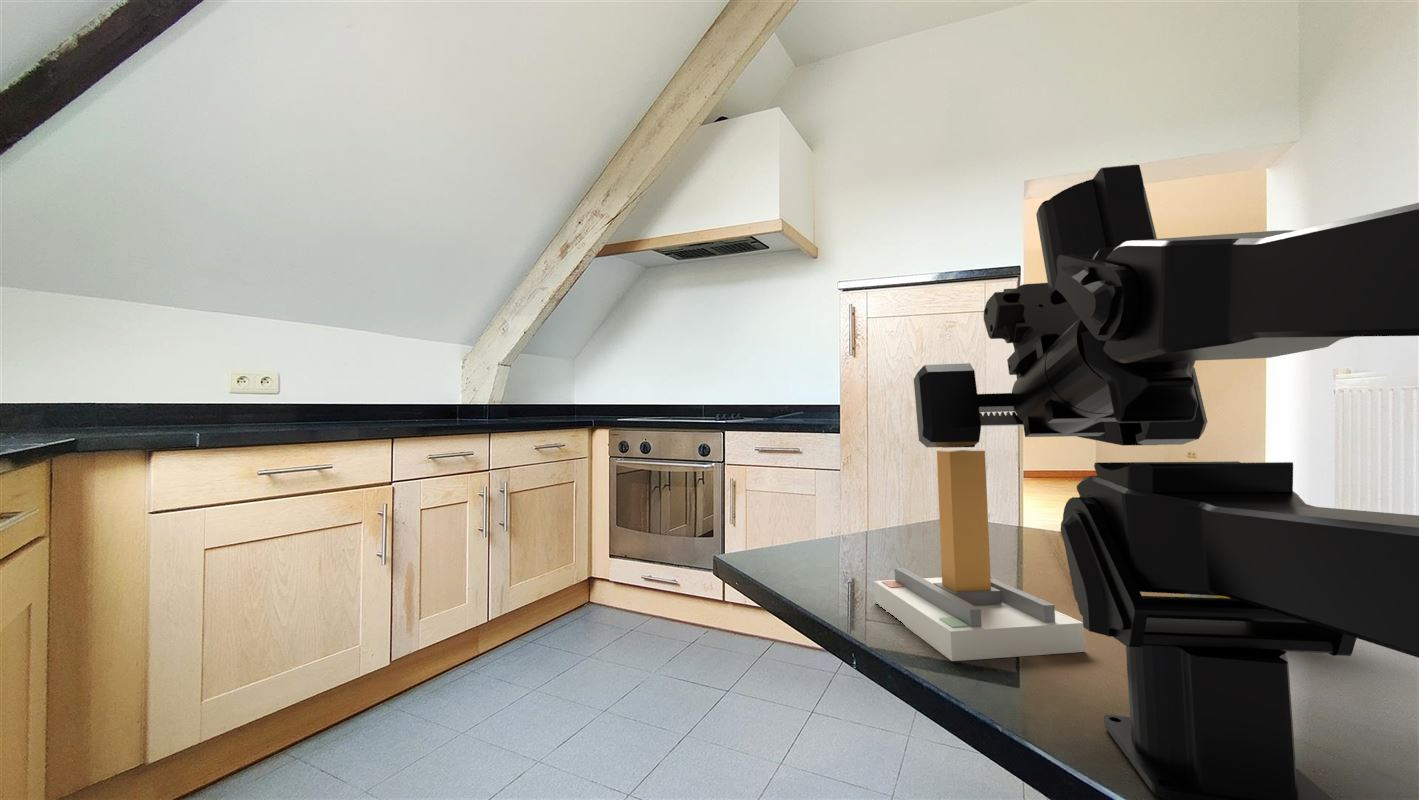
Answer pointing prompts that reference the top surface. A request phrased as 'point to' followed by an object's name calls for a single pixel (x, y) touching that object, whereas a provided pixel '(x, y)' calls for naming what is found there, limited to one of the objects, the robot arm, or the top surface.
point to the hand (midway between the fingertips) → (1012, 429)
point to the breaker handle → (965, 527)
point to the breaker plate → (979, 620)
